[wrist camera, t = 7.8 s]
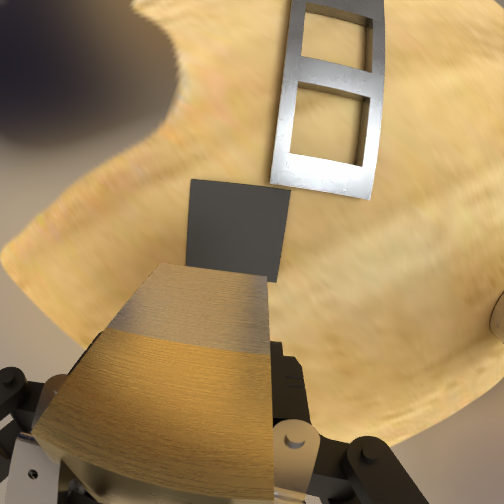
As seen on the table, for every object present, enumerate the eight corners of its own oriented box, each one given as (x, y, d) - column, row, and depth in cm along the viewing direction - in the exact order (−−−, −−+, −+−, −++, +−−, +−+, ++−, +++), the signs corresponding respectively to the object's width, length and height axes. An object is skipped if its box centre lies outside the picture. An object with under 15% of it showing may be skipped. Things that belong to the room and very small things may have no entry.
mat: (290, 190, 25) (290, 190, 24) (276, 280, 28) (276, 282, 27) (192, 179, 25) (191, 179, 24) (186, 269, 28) (185, 271, 27)
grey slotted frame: (376, 5, 18) (383, -3, 16) (362, 197, 25) (370, 200, 23) (293, -16, 18) (295, -25, 16) (269, 181, 25) (269, 183, 23)
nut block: (266, 276, 12) (274, 500, 3) (253, 359, 13) (245, 539, 4) (161, 262, 11) (30, 432, 3) (163, 345, 13) (96, 505, 4)
